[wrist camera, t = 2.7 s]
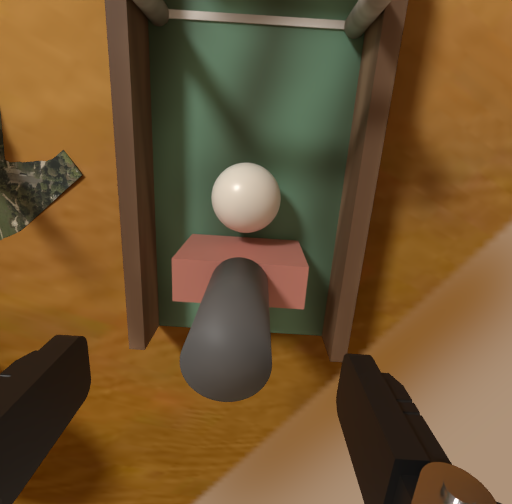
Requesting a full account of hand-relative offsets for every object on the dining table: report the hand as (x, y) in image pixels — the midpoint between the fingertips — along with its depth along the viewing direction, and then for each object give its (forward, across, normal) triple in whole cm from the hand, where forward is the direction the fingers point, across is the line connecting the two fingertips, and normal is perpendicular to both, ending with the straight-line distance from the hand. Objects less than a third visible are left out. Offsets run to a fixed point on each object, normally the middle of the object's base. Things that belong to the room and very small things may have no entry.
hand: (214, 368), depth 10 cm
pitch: (+13, 0, -6) cm, 15 cm away
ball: (+10, 0, -4) cm, 11 cm away
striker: (+12, 0, 0) cm, 12 cm away
